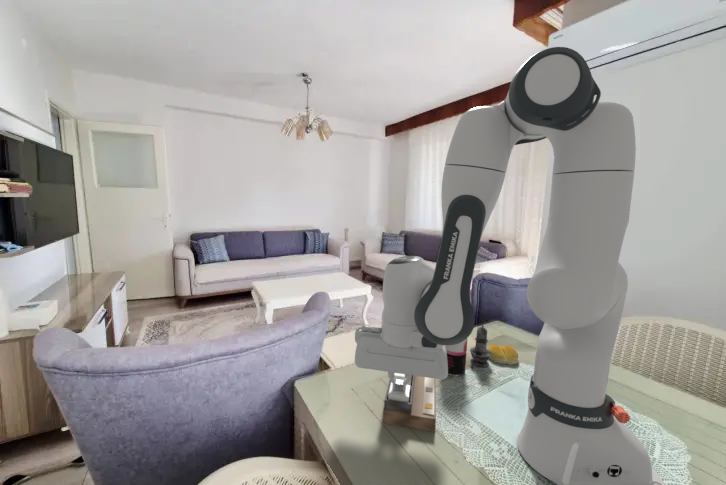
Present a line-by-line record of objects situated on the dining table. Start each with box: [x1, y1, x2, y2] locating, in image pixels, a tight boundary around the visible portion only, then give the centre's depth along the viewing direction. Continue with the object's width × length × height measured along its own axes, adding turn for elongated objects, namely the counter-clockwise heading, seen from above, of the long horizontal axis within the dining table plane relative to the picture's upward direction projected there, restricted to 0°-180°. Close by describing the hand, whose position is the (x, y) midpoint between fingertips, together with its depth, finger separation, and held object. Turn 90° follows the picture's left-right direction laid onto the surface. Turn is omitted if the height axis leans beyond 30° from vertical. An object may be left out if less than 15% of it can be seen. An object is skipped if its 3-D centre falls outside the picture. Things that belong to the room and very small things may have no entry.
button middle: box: [395, 373, 412, 386], centre depth 75 cm, size 4×4×2 cm
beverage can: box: [445, 338, 468, 377], centre depth 87 cm, size 6×7×15 cm
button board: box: [382, 375, 437, 433], centre depth 75 cm, size 11×19×5 cm, turn 167°
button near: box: [388, 382, 410, 403], centre depth 69 cm, size 4×4×2 cm
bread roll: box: [486, 344, 519, 366], centre depth 95 cm, size 8×9×4 cm
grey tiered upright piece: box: [469, 324, 491, 369], centre depth 91 cm, size 6×6×12 cm
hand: (399, 389), depth 69 cm, fingers closed, pressing on button near
